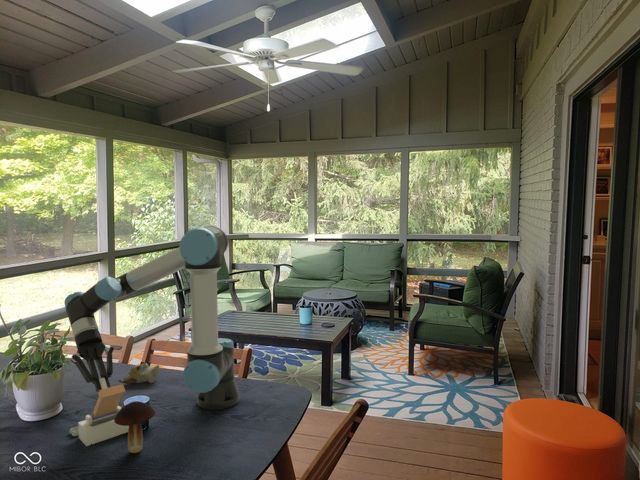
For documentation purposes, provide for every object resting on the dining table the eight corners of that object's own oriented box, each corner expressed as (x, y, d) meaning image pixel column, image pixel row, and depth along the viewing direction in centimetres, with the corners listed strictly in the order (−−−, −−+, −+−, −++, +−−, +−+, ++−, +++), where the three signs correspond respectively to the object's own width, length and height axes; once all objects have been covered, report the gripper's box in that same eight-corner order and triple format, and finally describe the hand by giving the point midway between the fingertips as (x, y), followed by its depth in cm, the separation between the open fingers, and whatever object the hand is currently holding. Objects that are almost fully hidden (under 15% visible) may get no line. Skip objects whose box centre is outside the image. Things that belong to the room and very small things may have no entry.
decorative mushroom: (115, 465, 126) (113, 413, 125) (115, 446, 136) (114, 397, 135) (157, 457, 131) (155, 406, 130) (154, 439, 141) (153, 391, 140)
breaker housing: (68, 433, 144) (67, 410, 144) (117, 418, 155) (116, 397, 154) (81, 447, 136) (80, 423, 135) (131, 430, 146) (130, 408, 145)
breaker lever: (90, 414, 142) (99, 390, 135) (113, 407, 147) (123, 383, 140) (92, 422, 141) (101, 397, 134) (116, 414, 145) (125, 391, 138)
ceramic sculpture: (153, 365, 181) (116, 367, 181) (155, 387, 181) (118, 388, 182) (163, 357, 191) (128, 358, 192) (165, 377, 192) (130, 378, 192)
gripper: (104, 336, 158) (125, 398, 147) (62, 344, 149) (81, 411, 138) (110, 324, 153) (131, 387, 143) (67, 332, 144) (86, 399, 134)
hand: (106, 399), depth 140 cm, fingers closed
